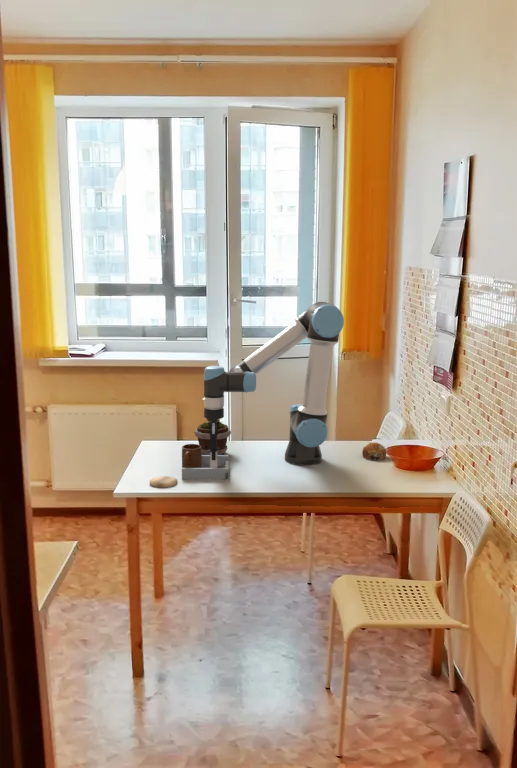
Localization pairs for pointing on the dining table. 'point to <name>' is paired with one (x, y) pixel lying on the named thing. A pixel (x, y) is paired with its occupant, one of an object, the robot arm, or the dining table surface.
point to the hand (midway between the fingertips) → (213, 467)
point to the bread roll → (374, 451)
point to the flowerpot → (204, 437)
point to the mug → (191, 456)
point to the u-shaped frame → (208, 469)
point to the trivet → (163, 482)
